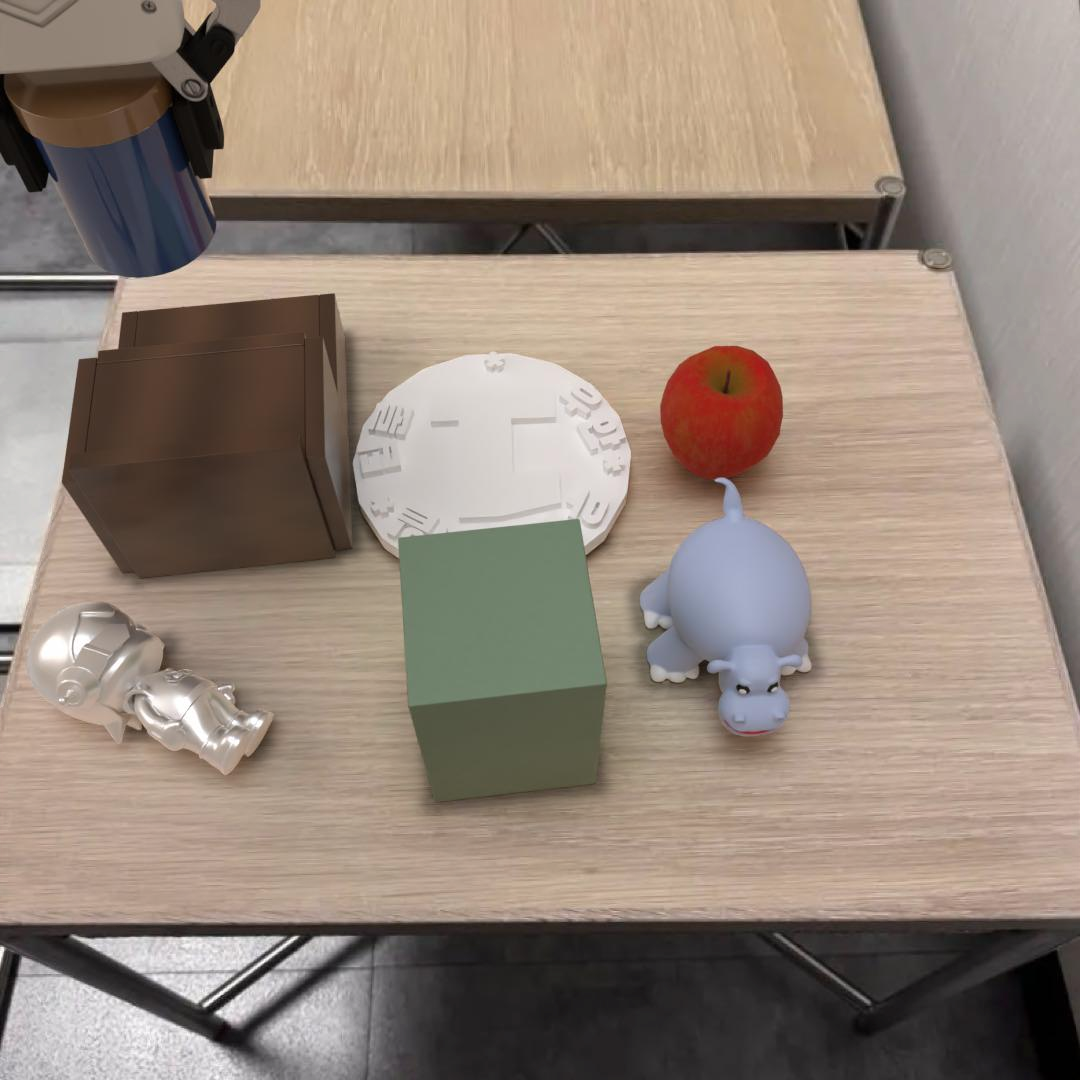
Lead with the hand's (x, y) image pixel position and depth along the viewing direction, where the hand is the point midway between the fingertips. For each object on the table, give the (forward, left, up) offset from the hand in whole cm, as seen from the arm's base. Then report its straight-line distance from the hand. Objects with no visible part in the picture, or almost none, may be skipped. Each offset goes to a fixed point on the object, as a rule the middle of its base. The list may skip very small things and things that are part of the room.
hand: (123, 163), depth 50 cm
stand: (+15, -16, -32) cm, 39 cm away
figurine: (-7, -13, -32) cm, 35 cm away
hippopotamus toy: (+30, -13, -32) cm, 46 cm away
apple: (+32, +2, -32) cm, 45 cm away
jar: (0, 0, -4) cm, 4 cm away
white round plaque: (+16, +3, -32) cm, 36 cm away
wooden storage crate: (-2, +8, -32) cm, 33 cm away
